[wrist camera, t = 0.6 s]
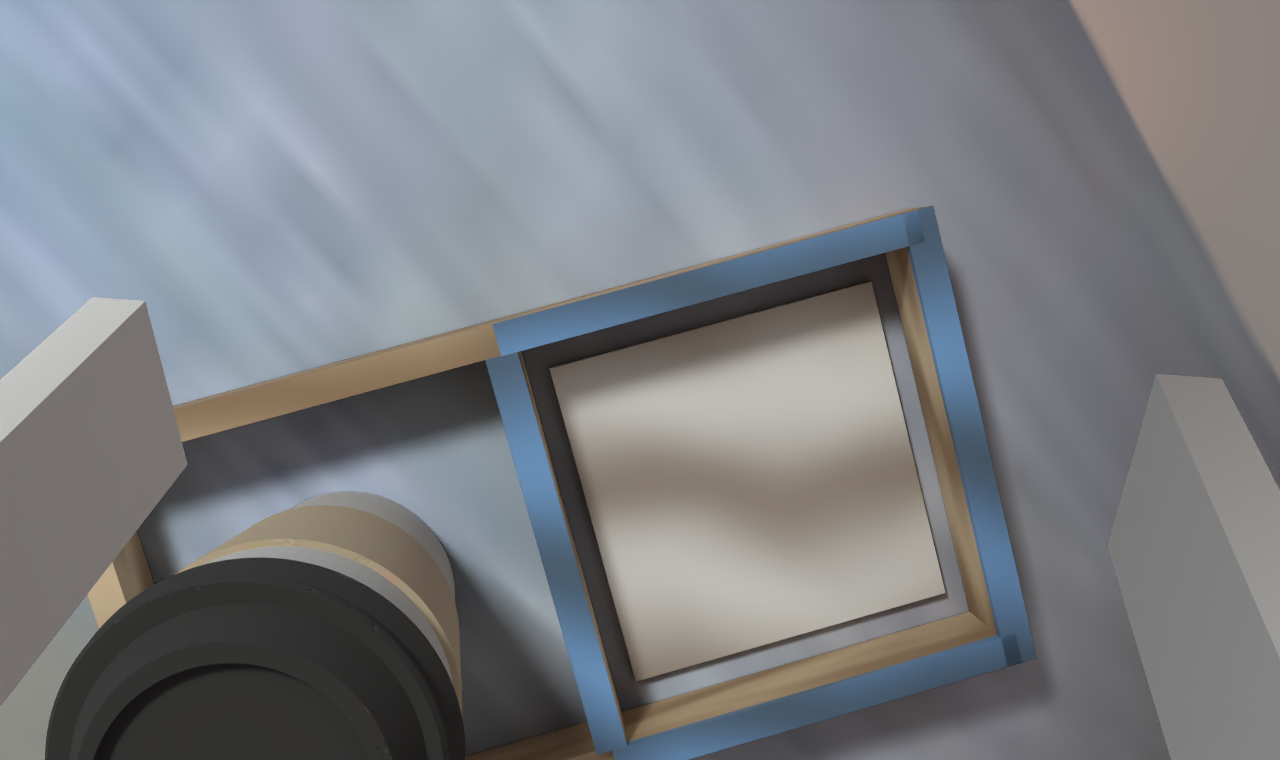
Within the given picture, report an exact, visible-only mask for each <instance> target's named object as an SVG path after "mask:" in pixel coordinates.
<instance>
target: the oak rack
mask: <svg viewBox="0 0 1280 760" xmlns="http://www.w3.org/2000/svg"><path fill="white" fill-rule="evenodd" d="M882 253H885V255H886V259H887V263H888V267H889V272H890V276H891V280H892V284H893V289H894V293H895V297H896V301H897V306H898V310H899V314H900V318H901V323H902V327H903V331H904V335H905V340H906V344H907V348H908V352H909V357H910V361H911V365H912V369H913V374H914V378H915V382H916V386H917V391H918V395H919V399H920V403H921V408H922V412H923V416H924V420H925V425H926V429H927V433H928V437H929V442H930V446H931V450H932V454H933V459H934V463H935V467H936V471H937V476H938V480H939V484H940V488H941V493H942V497H943V501H944V505H945V510H946V514H947V518H948V522H949V527H950V531H951V535H952V539H953V544H954V548H955V552H956V556H957V561H958V565H959V569H960V573H961V578H962V582H963V586H964V590H965V595H966V599H967V603H968V607H969V612H966V613H963V614H959V615H956V616H952V617H949V618H945V619H942V620H938V621H935V622H931V623H928V624H924V625H921V626H917V627H914V628H911V629H907V630H904V631H900V632H897V633H893V634H890V635H886V636H883V637H879V638H876V639H872V640H869V641H865V642H862V643H858V644H855V645H851V646H848V647H845V648H841V649H838V650H834V651H831V652H827V653H824V654H820V655H817V656H813V657H810V658H806V659H803V660H799V661H796V662H792V663H789V664H785V665H782V666H779V667H775V668H772V669H768V670H765V671H761V672H758V673H754V674H751V675H747V676H744V677H740V678H737V679H733V680H730V681H726V682H723V683H719V684H716V685H713V686H709V687H706V688H702V689H699V690H695V691H692V692H688V693H685V694H681V695H678V696H674V697H671V698H667V699H664V700H660V701H657V702H653V703H650V704H647V705H643V706H640V707H636V708H633V709H629V710H626V711H621V708H620V704H619V701H618V697H617V693H616V690H615V686H614V683H613V679H612V676H611V672H610V668H609V665H608V661H607V658H606V654H605V650H604V647H603V643H602V640H601V636H600V632H599V629H598V625H597V622H596V618H595V615H594V611H593V607H592V604H591V600H590V597H589V593H588V589H587V586H586V582H585V579H584V575H583V572H582V568H581V564H580V561H579V557H578V554H577V550H576V546H575V543H574V539H573V536H572V532H571V529H570V525H569V521H568V518H567V514H566V511H565V507H564V503H563V500H562V496H561V493H560V489H559V485H558V482H557V478H556V475H555V471H554V468H553V464H552V460H551V457H550V453H549V450H548V446H547V442H546V439H545V435H544V432H543V428H542V425H541V421H540V417H539V414H538V410H537V407H536V403H535V399H534V396H533V392H532V389H531V385H530V382H529V378H528V374H527V371H526V367H525V364H524V360H523V356H522V353H521V351H523V350H527V349H531V348H534V347H538V346H542V345H545V344H549V343H553V342H556V341H560V340H564V339H568V338H571V337H575V336H579V335H582V334H586V333H590V332H593V331H597V330H601V329H605V328H608V327H612V326H616V325H619V324H623V323H627V322H630V321H634V320H638V319H641V318H645V317H649V316H653V315H656V314H660V313H664V312H667V311H671V310H675V309H678V308H682V307H686V306H690V305H693V304H697V303H701V302H704V301H708V300H712V299H715V298H719V297H723V296H727V295H730V294H734V293H738V292H741V291H745V290H749V289H752V288H756V287H760V286H763V285H767V284H771V283H775V282H778V281H782V280H786V279H789V278H793V277H797V276H800V275H804V274H808V273H812V272H815V271H819V270H823V269H826V268H830V267H834V266H837V265H841V264H845V263H849V262H852V261H856V260H860V259H863V258H867V257H871V256H874V255H878V254H882ZM483 360H485V361H486V365H487V368H488V372H489V375H490V379H491V383H492V386H493V390H494V393H495V397H496V400H497V404H498V407H499V411H500V414H501V418H502V421H503V425H504V428H505V432H506V436H507V439H508V443H509V446H510V450H511V453H512V457H513V460H514V464H515V467H516V471H517V474H518V478H519V481H520V485H521V488H522V492H523V496H524V499H525V503H526V506H527V510H528V513H529V517H530V520H531V524H532V527H533V531H534V534H535V538H536V541H537V545H538V549H539V552H540V556H541V559H542V563H543V566H544V570H545V573H546V577H547V580H548V584H549V587H550V591H551V594H552V598H553V601H554V605H555V609H556V612H557V616H558V619H559V623H560V626H561V630H562V633H563V637H564V640H565V644H566V647H567V651H568V654H569V658H570V661H571V665H572V669H573V672H574V676H575V679H576V683H577V686H578V690H579V693H580V697H581V700H582V704H583V707H584V711H585V714H586V718H587V722H584V723H581V724H577V725H574V726H570V727H567V728H563V729H560V730H556V731H553V732H549V733H546V734H542V735H539V736H535V737H532V738H528V739H525V740H521V741H518V742H515V743H511V744H508V745H504V746H501V747H497V748H494V749H490V750H487V751H483V752H480V753H476V754H473V755H469V756H466V757H465V760H689V759H692V758H696V757H699V756H703V755H706V754H709V753H713V752H716V751H720V750H723V749H727V748H730V747H733V746H737V745H740V744H744V743H747V742H751V741H754V740H758V739H761V738H764V737H768V736H771V735H775V734H778V733H782V732H785V731H788V730H792V729H795V728H799V727H802V726H806V725H809V724H813V723H816V722H819V721H823V720H826V719H830V718H833V717H837V716H840V715H843V714H847V713H850V712H854V711H857V710H861V709H864V708H868V707H871V706H874V705H878V704H881V703H885V702H888V701H892V700H895V699H898V698H902V697H905V696H909V695H912V694H916V693H919V692H923V691H926V690H929V689H933V688H936V687H940V686H943V685H947V684H950V683H953V682H957V681H960V680H964V679H967V678H971V677H974V676H978V675H981V674H984V673H988V672H991V671H995V670H998V669H1002V668H1005V667H1008V666H1012V665H1015V664H1019V663H1022V662H1026V661H1029V660H1033V659H1036V658H1037V657H1036V653H1035V648H1034V644H1033V640H1032V635H1031V631H1030V626H1029V622H1028V618H1027V613H1026V609H1025V605H1024V600H1023V596H1022V592H1021V587H1020V583H1019V578H1018V574H1017V570H1016V565H1015V561H1014V557H1013V552H1012V548H1011V543H1010V539H1009V535H1008V530H1007V526H1006V522H1005V517H1004V513H1003V508H1002V504H1001V500H1000V495H999V491H998V487H997V482H996V478H995V474H994V469H993V465H992V460H991V456H990V452H989V447H988V443H987V439H986V434H985V430H984V425H983V421H982V417H981V412H980V408H979V404H978V399H977V395H976V390H975V386H974V382H973V377H972V373H971V369H970V364H969V360H968V356H967V351H966V347H965V342H964V338H963V334H962V329H961V325H960V321H959V316H958V312H957V307H956V303H955V299H954V294H953V290H952V286H951V281H950V277H949V272H948V268H947V264H946V259H945V255H944V251H943V246H942V242H941V238H940V233H939V229H938V224H937V220H936V216H935V211H934V207H933V206H929V207H920V208H912V209H905V210H901V211H897V212H893V213H890V214H886V215H882V216H879V217H875V218H871V219H867V220H864V221H860V222H856V223H853V224H849V225H845V226H841V227H838V228H834V229H830V230H826V231H823V232H819V233H815V234H812V235H808V236H804V237H800V238H797V239H793V240H789V241H786V242H782V243H778V244H774V245H771V246H767V247H763V248H759V249H756V250H752V251H748V252H745V253H741V254H737V255H733V256H730V257H726V258H722V259H719V260H715V261H711V262H707V263H704V264H700V265H696V266H693V267H689V268H685V269H681V270H678V271H674V272H670V273H666V274H663V275H659V276H655V277H652V278H648V279H644V280H640V281H637V282H633V283H629V284H626V285H622V286H618V287H614V288H611V289H607V290H603V291H600V292H596V293H592V294H588V295H585V296H581V297H577V298H573V299H570V300H566V301H562V302H559V303H555V304H551V305H547V306H544V307H540V308H536V309H533V310H529V311H525V312H521V313H518V314H514V315H510V316H507V317H503V318H499V319H495V320H492V321H488V322H484V323H480V324H477V325H473V326H469V327H466V328H462V329H458V330H454V331H451V332H447V333H443V334H440V335H436V336H432V337H428V338H425V339H421V340H417V341H414V342H410V343H406V344H402V345H399V346H395V347H391V348H387V349H384V350H380V351H376V352H373V353H369V354H365V355H361V356H358V357H354V358H350V359H347V360H343V361H339V362H335V363H332V364H328V365H324V366H321V367H317V368H313V369H309V370H306V371H302V372H298V373H294V374H291V375H287V376H283V377H280V378H276V379H272V380H268V381H265V382H261V383H257V384H254V385H250V386H246V387H242V388H239V389H235V390H231V391H228V392H224V393H220V394H216V395H213V396H209V397H205V398H201V399H198V400H194V401H190V402H187V403H183V404H179V405H175V406H173V410H174V414H175V418H176V421H177V425H178V429H179V433H180V437H181V441H182V442H184V441H188V440H191V439H195V438H199V437H202V436H206V435H210V434H213V433H217V432H221V431H225V430H228V429H232V428H236V427H239V426H243V425H247V424H250V423H254V422H258V421H262V420H265V419H269V418H273V417H276V416H280V415H284V414H287V413H291V412H295V411H299V410H302V409H306V408H310V407H313V406H317V405H321V404H324V403H328V402H332V401H335V400H339V399H343V398H347V397H350V396H354V395H358V394H361V393H365V392H369V391H372V390H376V389H380V388H384V387H387V386H391V385H395V384H398V383H402V382H406V381H409V380H413V379H417V378H421V377H424V376H428V375H432V374H435V373H439V372H443V371H446V370H450V369H454V368H457V367H461V366H465V365H469V364H472V363H476V362H480V361H483ZM550 372H551V376H552V380H553V383H554V387H555V390H556V394H557V398H558V401H559V405H560V408H561V412H562V416H563V419H564V423H565V427H566V430H567V434H568V437H569V441H570V445H571V448H572V452H573V456H574V459H575V463H576V466H577V470H578V474H579V477H580V481H581V485H582V488H583V492H584V495H585V499H586V503H587V506H588V510H589V513H590V517H591V521H592V524H593V528H594V532H595V535H596V539H597V542H598V546H599V550H600V553H601V557H602V561H603V564H604V568H605V571H606V575H607V579H608V582H609V586H610V589H611V593H612V597H613V600H614V604H615V608H616V611H617V615H618V618H619V622H620V626H621V629H622V633H623V637H624V640H625V644H626V647H627V651H628V655H629V658H630V662H631V666H632V669H633V673H634V676H635V680H636V682H637V681H640V680H644V679H647V678H650V677H654V676H657V675H661V674H664V673H668V672H671V671H675V670H678V669H682V668H685V667H689V666H692V665H696V664H699V663H703V662H706V661H710V660H713V659H717V658H720V657H724V656H727V655H731V654H734V653H738V652H741V651H745V650H748V649H752V648H755V647H759V646H762V645H766V644H769V643H773V642H776V641H780V640H783V639H786V638H790V637H793V636H797V635H800V634H804V633H807V632H811V631H814V630H818V629H821V628H825V627H828V626H832V625H835V624H839V623H842V622H846V621H849V620H853V619H856V618H860V617H863V616H867V615H870V614H874V613H877V612H881V611H884V610H888V609H891V608H895V607H898V606H902V605H905V604H909V603H912V602H916V601H919V600H923V599H926V598H929V597H933V596H936V595H940V594H943V593H945V589H944V585H943V580H942V576H941V572H940V568H939V564H938V559H937V555H936V551H935V547H934V543H933V538H932V534H931V530H930V526H929V522H928V517H927V513H926V509H925V505H924V501H923V496H922V492H921V488H920V484H919V479H918V475H917V471H916V467H915V463H914V458H913V454H912V450H911V446H910V442H909V437H908V433H907V429H906V425H905V421H904V416H903V412H902V408H901V404H900V400H899V395H898V391H897V387H896V383H895V378H894V374H893V370H892V366H891V362H890V357H889V353H888V349H887V345H886V341H885V336H884V332H883V328H882V324H881V320H880V315H879V311H878V307H877V303H876V299H875V294H874V290H873V286H872V282H870V281H869V282H865V283H861V284H858V285H854V286H850V287H846V288H843V289H839V290H835V291H832V292H828V293H824V294H821V295H817V296H813V297H810V298H806V299H802V300H799V301H795V302H791V303H788V304H784V305H780V306H777V307H773V308H769V309H765V310H762V311H758V312H754V313H751V314H747V315H743V316H740V317H736V318H732V319H729V320H725V321H721V322H718V323H714V324H710V325H707V326H703V327H699V328H696V329H692V330H688V331H684V332H681V333H677V334H673V335H670V336H666V337H662V338H659V339H655V340H651V341H648V342H644V343H640V344H637V345H633V346H629V347H626V348H622V349H618V350H615V351H611V352H607V353H603V354H600V355H596V356H592V357H589V358H585V359H581V360H578V361H574V362H570V363H567V364H563V365H559V366H556V367H552V368H550ZM152 585H154V581H153V578H152V575H151V572H150V569H149V566H148V563H147V560H146V557H145V553H144V550H143V547H142V544H141V541H140V538H139V535H138V532H137V531H136V532H135V533H134V535H133V536H132V537H131V539H130V540H129V541H128V542H127V544H126V545H125V546H124V548H123V549H122V550H121V551H120V553H119V554H118V555H117V557H116V558H115V559H114V560H113V562H112V563H111V564H110V566H109V567H108V568H107V569H106V571H105V572H104V573H103V575H102V576H101V577H100V579H99V580H98V581H97V582H96V584H95V585H94V586H93V588H92V589H91V590H90V591H89V593H88V597H89V600H90V603H91V606H92V609H93V612H94V615H95V618H96V621H97V624H98V627H99V629H100V628H101V626H102V625H103V624H104V623H105V622H106V621H107V620H108V619H109V618H110V617H111V616H112V615H113V614H114V613H115V612H116V611H118V610H119V609H120V608H121V607H122V606H123V605H125V604H126V603H127V602H128V601H130V600H131V599H132V598H134V597H135V596H137V595H138V594H140V593H141V592H143V591H144V590H146V589H147V588H149V587H151V586H152Z"/></svg>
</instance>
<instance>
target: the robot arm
mask: <svg viewBox="0 0 1280 760" xmlns="http://www.w3.org/2000/svg"><path fill="white" fill-rule="evenodd" d="M187 465H188V464H187V460H186V456H185V452H184V448H183V445H182V441H181V437H180V433H179V429H178V425H177V421H176V418H175V414H174V410H173V406H172V402H171V398H170V395H169V391H168V387H167V383H166V379H165V375H164V371H163V368H162V364H161V360H160V356H159V352H158V348H157V344H156V341H155V337H154V333H153V329H152V325H151V321H150V318H149V314H148V310H147V306H146V302H145V301H137V300H123V299H109V298H95V297H92V298H91V299H90V300H89V301H88V302H86V303H85V304H84V305H83V306H82V307H81V308H80V309H79V310H78V311H76V312H75V313H74V314H73V315H72V316H71V317H70V318H69V319H68V320H66V321H65V322H64V323H63V324H62V325H61V326H60V327H59V328H57V329H56V330H55V331H54V332H53V333H52V334H51V335H50V336H49V337H47V338H46V339H45V340H44V341H43V342H42V343H41V344H40V345H39V346H37V347H36V348H35V349H34V350H33V351H32V352H31V353H30V354H29V355H27V356H26V357H25V358H24V359H23V360H22V361H21V362H20V363H19V364H17V365H16V366H15V367H14V368H13V369H12V370H11V371H10V372H8V373H7V374H6V375H5V376H4V377H3V378H2V379H1V380H0V706H1V705H2V704H3V702H4V701H5V700H6V698H7V697H8V696H9V695H10V693H11V692H12V691H13V689H14V688H15V687H16V686H17V684H18V683H19V682H20V680H21V679H22V678H23V677H24V675H25V674H26V673H27V671H28V670H29V669H30V668H31V666H32V665H33V664H34V662H35V661H36V660H37V658H38V657H39V656H40V655H41V653H42V652H43V651H44V649H45V648H46V647H47V646H48V644H49V643H50V642H51V640H52V639H53V638H54V637H55V635H56V634H57V633H58V631H59V630H60V629H61V628H62V626H63V625H64V624H65V622H66V621H67V620H68V619H69V617H70V616H71V615H72V613H73V612H74V611H75V609H76V608H77V607H78V606H79V604H80V603H81V602H82V600H83V599H84V598H85V597H86V595H87V594H88V593H89V591H90V590H91V589H92V588H93V586H94V585H95V584H96V582H97V581H98V580H99V579H100V577H101V576H102V575H103V573H104V572H105V571H106V569H107V568H108V567H109V566H110V564H111V563H112V562H113V560H114V559H115V558H116V557H117V555H118V554H119V553H120V551H121V550H122V549H123V548H124V546H125V545H126V544H127V542H128V541H129V540H130V539H131V537H132V536H133V535H134V533H135V532H136V531H137V529H138V528H139V527H140V526H141V524H142V523H143V522H144V520H145V519H146V518H147V517H148V515H149V514H150V513H151V511H152V510H153V509H154V508H155V506H156V505H157V504H158V502H159V501H160V500H161V499H162V497H163V496H164V495H165V493H166V492H167V491H168V489H169V488H170V487H171V486H172V484H173V483H174V482H175V480H176V479H177V478H178V477H179V475H180V474H181V473H182V471H183V470H184V469H185V468H186V466H187ZM1107 548H1108V551H1109V554H1110V558H1111V561H1112V564H1113V568H1114V571H1115V574H1116V578H1117V581H1118V584H1119V588H1120V591H1121V594H1122V598H1123V601H1124V605H1125V608H1126V611H1127V615H1128V618H1129V621H1130V625H1131V628H1132V631H1133V635H1134V638H1135V641H1136V645H1137V648H1138V651H1139V655H1140V658H1141V661H1142V665H1143V668H1144V671H1145V675H1146V678H1147V681H1148V685H1149V688H1150V691H1151V695H1152V698H1153V701H1154V705H1155V708H1156V711H1157V715H1158V718H1159V721H1160V725H1161V728H1162V731H1163V735H1164V738H1165V742H1166V745H1167V748H1168V752H1169V755H1170V758H1171V760H1280V489H1279V488H1278V486H1277V484H1276V482H1275V480H1274V478H1273V476H1272V474H1271V472H1270V470H1269V468H1268V466H1267V464H1266V463H1265V461H1264V459H1263V457H1262V455H1261V453H1260V451H1259V449H1258V447H1257V445H1256V443H1255V441H1254V439H1253V438H1252V436H1251V434H1250V432H1249V430H1248V428H1247V426H1246V424H1245V422H1244V420H1243V418H1242V416H1241V414H1240V413H1239V411H1238V409H1237V407H1236V405H1235V403H1234V401H1233V399H1232V397H1231V395H1230V393H1229V391H1228V389H1227V388H1226V386H1225V384H1224V382H1223V380H1222V378H1208V377H1194V376H1180V375H1166V374H1156V376H1155V379H1154V383H1153V386H1152V390H1151V394H1150V397H1149V401H1148V404H1147V408H1146V411H1145V415H1144V418H1143V422H1142V425H1141V429H1140V432H1139V436H1138V439H1137V443H1136V446H1135V450H1134V453H1133V457H1132V460H1131V464H1130V467H1129V471H1128V474H1127V478H1126V481H1125V485H1124V488H1123V492H1122V496H1121V499H1120V503H1119V506H1118V510H1117V513H1116V517H1115V520H1114V524H1113V527H1112V531H1111V534H1110V538H1109V541H1108V545H1107Z"/></svg>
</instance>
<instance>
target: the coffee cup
mask: <svg viewBox="0 0 1280 760" xmlns="http://www.w3.org/2000/svg"><path fill="white" fill-rule="evenodd" d="M45 760H465V737H464V727H463V720H462V684H461V658H460V632H459V620H458V613H457V608H456V604H455V583H454V577H453V572H452V568H451V565H450V562H449V559H448V557H447V554H446V552H445V550H444V548H443V546H442V545H441V543H440V541H439V540H438V538H437V537H436V535H435V534H434V533H433V531H432V530H431V529H430V528H429V527H428V526H427V525H426V524H425V523H424V522H423V521H422V520H421V519H420V518H419V517H418V516H416V515H415V514H414V513H413V512H411V511H410V510H408V509H407V508H405V507H403V506H402V505H400V504H398V503H396V502H394V501H392V500H389V499H387V498H384V497H381V496H378V495H374V494H369V493H363V492H350V491H347V492H334V493H328V494H323V495H320V496H316V497H313V498H311V499H308V500H306V501H304V502H302V503H300V504H298V505H296V506H294V507H293V508H291V509H290V510H287V511H284V512H281V513H278V514H275V515H273V516H271V517H268V518H266V519H264V520H262V521H260V522H259V523H257V524H255V525H253V526H252V527H250V528H249V529H247V530H245V531H244V532H242V533H240V534H239V535H237V536H235V537H234V538H232V539H230V540H229V541H227V542H226V543H224V544H222V545H221V546H219V547H217V548H216V549H214V550H212V551H211V552H209V553H208V554H206V555H204V556H203V557H201V558H199V559H198V560H196V561H194V562H193V563H191V564H190V565H188V566H186V567H185V568H183V569H182V570H180V571H179V572H177V573H176V574H174V575H173V576H170V577H168V578H166V579H164V580H162V581H160V582H158V583H156V584H154V585H152V586H151V587H149V588H147V589H146V590H144V591H143V592H141V593H140V594H138V595H137V596H135V597H134V598H132V599H131V600H130V601H128V602H127V603H126V604H125V605H123V606H122V607H121V608H120V609H119V610H118V611H116V612H115V613H114V614H113V615H112V616H111V617H110V618H109V619H108V620H107V621H106V622H105V623H104V624H103V625H102V626H101V628H100V629H99V630H98V631H97V632H96V633H95V635H94V636H93V637H92V638H91V640H90V641H89V643H88V644H87V645H86V646H85V647H84V649H83V650H82V651H81V653H80V654H79V655H78V657H77V658H76V660H75V661H74V663H73V664H72V666H71V668H70V669H69V671H68V673H67V675H66V677H65V678H64V680H63V683H62V685H61V687H60V689H59V692H58V694H57V697H56V699H55V702H54V705H53V709H52V712H51V716H50V720H49V725H48V731H47V738H46V749H45Z"/></svg>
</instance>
